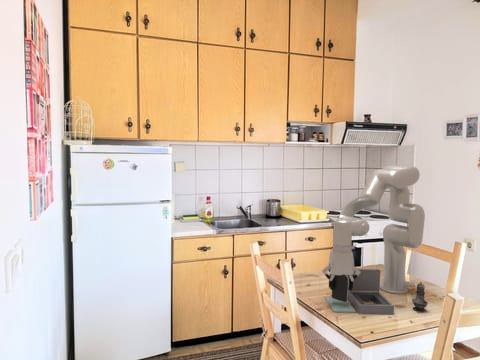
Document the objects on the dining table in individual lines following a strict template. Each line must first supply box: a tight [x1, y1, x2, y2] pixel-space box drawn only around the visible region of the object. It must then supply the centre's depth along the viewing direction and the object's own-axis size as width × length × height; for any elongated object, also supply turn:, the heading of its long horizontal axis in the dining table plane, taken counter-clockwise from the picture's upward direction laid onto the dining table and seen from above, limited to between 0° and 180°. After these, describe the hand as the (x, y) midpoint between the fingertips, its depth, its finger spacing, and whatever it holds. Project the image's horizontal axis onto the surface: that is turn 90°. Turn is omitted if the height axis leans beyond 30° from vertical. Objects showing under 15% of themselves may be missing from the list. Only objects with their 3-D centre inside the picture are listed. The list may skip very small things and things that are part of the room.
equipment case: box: [348, 268, 395, 315], centre depth 151 cm, size 14×16×14 cm
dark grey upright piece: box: [411, 281, 429, 313], centre depth 147 cm, size 6×6×12 cm
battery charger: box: [331, 275, 350, 302], centre depth 150 cm, size 7×4×11 cm, turn 52°
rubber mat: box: [325, 297, 357, 314], centre depth 151 cm, size 9×14×1 cm, turn 0°
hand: (340, 289), depth 151 cm, fingers closed on battery charger, 7 cm apart
